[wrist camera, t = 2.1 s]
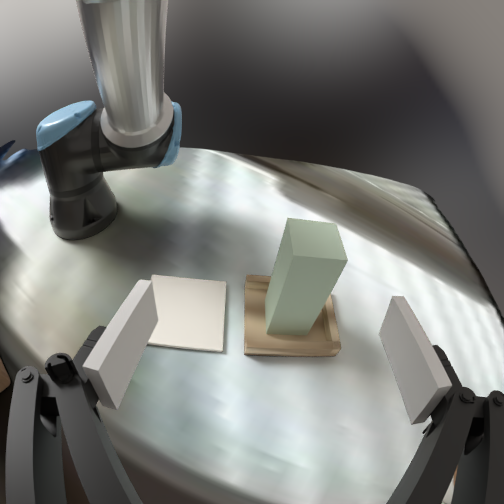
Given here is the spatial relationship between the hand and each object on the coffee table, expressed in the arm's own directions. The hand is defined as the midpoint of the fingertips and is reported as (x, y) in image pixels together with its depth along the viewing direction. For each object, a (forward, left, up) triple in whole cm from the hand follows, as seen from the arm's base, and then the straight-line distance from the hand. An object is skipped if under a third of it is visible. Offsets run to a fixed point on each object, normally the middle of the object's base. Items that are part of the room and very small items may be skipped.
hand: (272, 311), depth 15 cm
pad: (-15, -8, -24) cm, 29 cm away
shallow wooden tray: (-15, +7, -24) cm, 29 cm away
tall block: (-15, +7, -23) cm, 29 cm away
